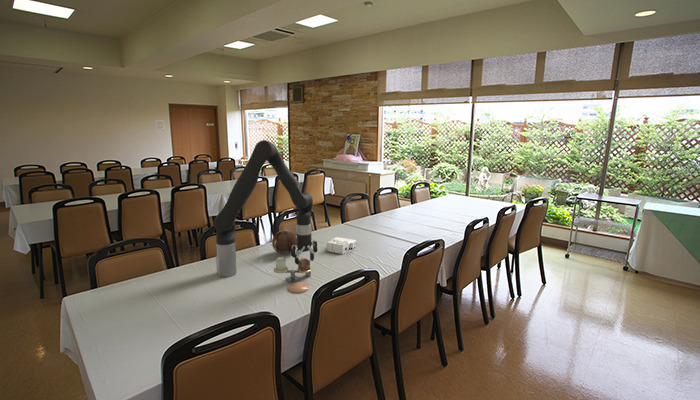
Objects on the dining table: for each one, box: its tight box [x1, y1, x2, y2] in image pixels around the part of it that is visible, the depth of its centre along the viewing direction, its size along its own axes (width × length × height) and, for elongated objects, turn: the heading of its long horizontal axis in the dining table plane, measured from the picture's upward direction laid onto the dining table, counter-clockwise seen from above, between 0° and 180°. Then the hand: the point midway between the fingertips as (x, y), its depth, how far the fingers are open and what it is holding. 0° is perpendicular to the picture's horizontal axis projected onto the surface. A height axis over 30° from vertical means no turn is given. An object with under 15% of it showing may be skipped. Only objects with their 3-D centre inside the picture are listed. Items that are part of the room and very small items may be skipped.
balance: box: [273, 266, 312, 284], centre depth 175 cm, size 20×7×7 cm, turn 126°
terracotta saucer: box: [287, 281, 310, 294], centre depth 167 cm, size 10×10×1 cm
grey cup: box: [275, 256, 287, 271], centre depth 170 cm, size 5×5×6 cm
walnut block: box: [297, 258, 311, 272], centre depth 179 cm, size 4×4×5 cm
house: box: [327, 236, 358, 255], centre depth 222 cm, size 22×18×6 cm
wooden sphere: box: [271, 229, 297, 256], centre depth 211 cm, size 15×15×15 cm
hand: (304, 262), depth 179 cm, fingers open, 8 cm apart
